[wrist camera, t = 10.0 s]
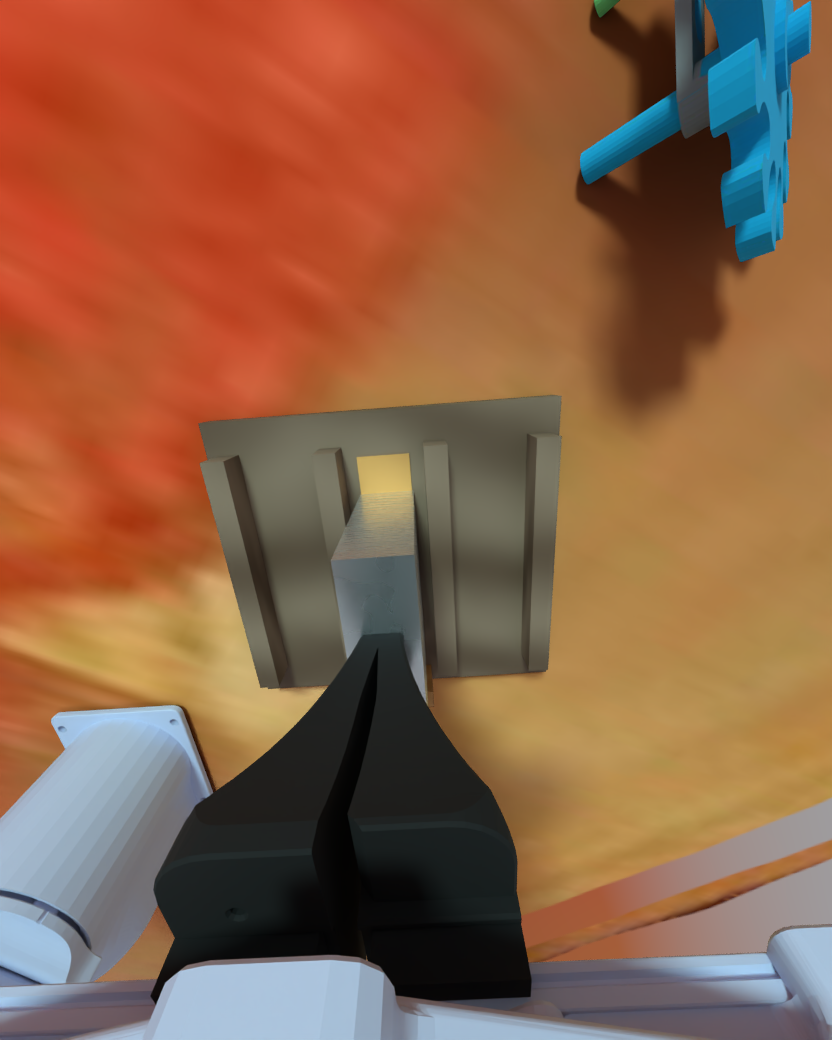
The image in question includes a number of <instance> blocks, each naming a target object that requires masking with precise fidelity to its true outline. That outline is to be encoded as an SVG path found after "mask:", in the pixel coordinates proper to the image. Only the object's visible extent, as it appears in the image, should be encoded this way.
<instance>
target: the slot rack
mask: <svg viewBox="0 0 832 1040" xmlns="http://www.w3.org/2000/svg"><path fill="white" fill-rule="evenodd" d="M560 411H561V396H558V395H547V396H534V397H521V398H508V399H495V400H482V401H469V402H455V403H442V404H429V405H416V406H403V407H390V408H377V409H363V410H350V411H337V412H324V413H311V414H298V415H285V416H272V417H258V418H245V419H232V420H219V421H208V422H203V423H198V424H199V428H200V432H201V436H202V439H203V443H204V447H205V451H206V455H207V458H208V460H207V461H204V462H201V463H200V466H201V470H202V474H203V477H204V481H205V485H206V488H207V492H208V496H209V499H210V503H211V507H212V511H213V514H214V518H215V522H216V525H217V529H218V533H219V536H220V540H221V544H222V547H223V551H224V555H225V558H226V562H227V566H228V569H229V573H230V577H231V581H232V584H233V588H234V592H235V595H236V599H237V603H238V606H239V610H240V614H241V617H242V621H243V625H244V628H245V632H246V636H247V639H248V643H249V647H250V651H251V654H252V658H253V662H254V665H255V669H256V673H257V676H258V680H259V684H260V687H261V688H264V687H268V689H275V688H291V687H307V686H323V685H330V684H331V682H332V681H333V680H334V678H335V677H336V675H337V674H338V672H339V671H340V670H341V668H342V667H343V665H344V664H345V662H346V661H347V655H346V649H345V643H344V637H343V631H342V625H341V619H340V613H339V607H338V601H337V595H336V589H335V583H334V577H333V571H332V565H331V559H332V557H333V554H334V552H335V550H336V548H337V546H338V543H339V541H340V539H341V537H342V534H343V532H344V530H345V528H346V526H347V523H348V521H349V519H350V517H351V514H352V512H353V510H354V508H355V506H356V503H357V501H358V499H359V497H360V495H361V494H373V493H387V492H401V491H414V503H415V516H416V529H417V542H418V555H419V568H420V581H421V594H422V607H423V620H424V633H425V654H426V674H427V695H428V707H434V700H433V684H432V679H434V678H450V677H466V676H482V675H498V674H514V673H530V672H546V670H548V659H549V642H550V625H551V608H552V591H553V574H554V557H555V539H556V522H557V505H558V488H559V471H560V454H561V437H562V436H559V429H560Z"/></svg>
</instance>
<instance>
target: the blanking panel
mask: <svg viewBox="0 0 832 1040" xmlns="http://www.w3.org/2000/svg"><path fill="white" fill-rule="evenodd" d="M331 565H332V571H333V577H334V583H335V589H336V595H337V601H338V607H339V613H340V619H341V625H342V631H343V637H344V643H345V649H346V655H347V659H348V658H349V656H350V655H351V653H352V651H353V650H354V648H355V646H356V645H357V643H358V641H359V639H360V638H361V637H362V636H363V635H367V634H382V633H396V632H400V633H402V634H403V635H404V643H405V652H406V655H407V659H408V662H409V665H410V668H411V671H412V673H413V676H414V678H415V681H416V683H417V685H418V688H419V690H420V692H421V694H422V696H423V698H424V700H425V702H426V704H427V706H428V695H427V674H426V654H425V633H424V620H423V607H422V594H421V581H420V568H419V555H418V542H417V529H416V516H415V503H414V491H401V492H387V493H373V494H361V495H360V497H359V499H358V501H357V503H356V506H355V508H354V510H353V512H352V514H351V517H350V519H349V521H348V523H347V526H346V528H345V530H344V532H343V534H342V537H341V539H340V541H339V543H338V546H337V548H336V550H335V552H334V554H333V557H332V559H331Z"/></svg>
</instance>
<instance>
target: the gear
mask: <svg viewBox="0 0 832 1040" xmlns="http://www.w3.org/2000/svg"><path fill="white" fill-rule="evenodd" d="M619 1H620V0H594V3H595V8H596V11H597V14H598V16H599V17H602V16H603V15H604V14H605V13H606V12H608V11H609V10H610V9H611V8H612V7H613V6H614V5H615V4H616V3H618V2H619ZM705 4H706V6H707V9H708V10H709V12H710V14H711V16H712V19H713V22H714V25H715V29H716V34H717V38H718V44H719V48H717V49H716V50H714V51H713V52H711V53H710V54H708V55H707V56H705V29H704V0H675V37H676V86H677V90H676V91H674V92H673V93H671V94H670V95H668V96H667V97H665V98H664V99H662V100H661V101H659V102H658V103H656V104H655V105H653V106H652V107H650V108H649V109H647V110H646V111H644V112H643V113H641V114H640V115H638V116H637V117H635V118H634V119H632V120H631V121H629V122H628V123H626V124H625V125H623V126H622V127H620V128H619V129H617V130H616V131H614V132H613V133H611V134H610V135H608V136H607V137H605V138H604V139H602V140H601V141H599V142H598V143H596V144H595V145H593V146H592V147H590V148H589V149H587V150H586V151H584V152H583V153H582V154H581V157H580V167H581V172H582V176H583V179H584V181H585V182H586V183H587V184H588V185H589V184H591V183H592V182H594V181H596V180H597V179H599V178H601V177H602V176H604V175H606V174H607V173H609V172H611V171H612V170H614V169H616V168H617V167H619V166H621V165H623V164H624V163H626V162H628V161H629V160H631V159H633V158H634V157H636V156H638V155H639V154H641V153H643V152H644V151H646V150H648V149H649V148H651V147H653V146H654V145H656V144H658V143H659V142H661V141H663V140H664V139H666V138H668V137H669V136H671V135H673V134H674V133H676V132H678V131H679V130H681V131H682V134H683V136H684V137H685V138H686V139H687V138H688V137H690V136H692V135H694V134H695V133H697V132H699V131H700V130H702V129H704V128H706V127H707V126H709V125H710V130H711V133H712V136H713V138H715V137H717V136H719V135H721V134H723V133H725V132H727V134H728V137H729V141H730V148H731V170H729V171H727V172H725V173H723V175H722V181H721V196H722V206H723V213H724V220H725V226H726V228H728V227H731V226H733V225H736V229H735V246H736V251H737V255H738V258H739V260H740V262H743V261H746V260H749V259H752V258H754V257H757V256H760V255H763V254H766V253H769V252H772V251H775V244H776V241H777V240H780V239H782V237H783V203H786V202H787V197H788V189H789V166H788V154H787V140H788V139H790V138H791V129H792V109H793V106H792V92H791V89H790V79H791V64H792V63H793V62H795V61H797V60H798V59H800V58H802V57H803V56H805V55H807V54H809V53H810V46H811V1H809V2H808V3H806V4H805V5H803V6H802V7H800V8H799V9H797V10H796V11H794V12H793V1H791V0H705Z"/></svg>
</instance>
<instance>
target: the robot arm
mask: <svg viewBox="0 0 832 1040" xmlns="http://www.w3.org/2000/svg"><path fill="white" fill-rule="evenodd" d="M51 722H52V725H53V727H54V729H55V730H56V732H57V734H58V736H59V738H60V740H61V742H62V744H63V745H64V747H65V750H64V752H63V753H62V754H61V755H60V756H59V757H58V758H57V759H56V760H55V761H54V762H53V763H52V764H51V765H50V766H49V767H48V769H47V770H46V771H45V772H44V773H43V774H42V775H41V776H40V777H39V778H38V779H37V780H36V781H35V782H34V783H33V784H32V786H31V787H30V788H29V789H28V790H27V791H26V792H25V793H24V794H23V795H22V796H21V797H20V798H19V799H18V800H17V801H16V803H15V804H14V805H13V806H12V807H11V808H10V809H9V810H8V811H7V812H6V813H5V814H4V815H3V816H2V817H1V819H0V1040H832V924H822V925H800V926H790V927H784V928H782V929H779V930H777V931H775V932H774V933H773V934H772V935H771V937H770V939H769V941H768V946H767V952H759V953H737V954H715V955H691V956H671V957H670V956H669V957H646V958H623V959H601V960H578V961H556V962H533V963H528V957H527V952H526V947H525V942H524V937H523V932H522V927H521V912H520V907H519V902H518V897H517V892H516V890H517V855H516V850H515V846H514V843H513V840H512V837H511V834H510V831H509V829H508V826H507V824H506V821H505V819H504V817H503V815H502V812H501V810H500V808H499V806H498V804H497V802H496V800H495V798H494V796H493V794H492V792H491V790H490V789H489V787H488V786H487V785H486V784H485V783H484V782H483V781H482V780H481V779H480V778H479V777H478V776H477V774H476V773H475V772H474V771H473V770H472V769H471V768H470V766H469V765H468V764H467V763H466V762H465V760H464V759H463V758H462V757H461V755H460V754H459V753H458V752H457V750H456V749H455V747H454V746H453V745H452V743H451V742H450V740H449V739H448V738H447V736H446V735H445V733H444V732H443V731H442V729H441V727H440V726H439V724H438V723H437V721H436V719H435V718H434V716H433V714H432V713H431V711H430V709H429V707H428V706H427V704H426V702H425V700H424V698H423V696H422V694H421V692H420V690H419V688H418V685H417V683H416V681H415V678H414V676H413V673H412V671H411V668H410V665H409V662H408V659H407V655H406V652H405V643H404V635H403V634H402V633H400V632H396V633H382V634H367V635H363V636H362V637H361V638H360V639H359V641H358V643H357V645H356V646H355V648H354V650H353V651H352V653H351V655H350V656H349V658H348V659H347V661H346V662H345V664H344V665H343V667H342V668H341V670H340V671H339V672H338V674H337V675H336V677H335V678H334V680H333V681H332V682H331V684H330V685H329V686H328V687H327V689H326V690H325V691H324V693H323V694H322V695H321V696H320V698H319V699H318V700H317V701H316V703H315V704H314V705H313V706H312V707H311V708H310V710H309V711H308V712H307V713H306V714H305V715H304V716H303V717H302V718H301V719H300V721H299V722H298V723H297V724H296V725H295V726H294V727H293V728H292V729H291V730H290V731H289V732H288V733H287V734H286V735H285V736H284V737H283V738H282V739H280V740H279V741H278V742H277V743H276V744H275V745H274V746H273V747H272V748H271V749H270V750H269V751H267V752H266V753H265V754H264V755H263V756H261V757H260V758H259V759H258V760H257V761H255V762H254V763H253V764H252V765H250V766H249V767H248V768H247V769H245V770H244V771H243V772H242V773H240V774H239V775H238V776H236V777H235V778H234V779H232V780H231V781H230V782H228V783H227V784H225V785H224V786H222V787H221V788H220V789H218V790H217V791H215V792H214V793H213V791H212V788H211V785H210V783H209V780H208V777H207V774H206V772H205V769H204V766H203V764H202V761H201V758H200V756H199V753H198V750H197V747H196V745H195V742H194V739H193V737H192V734H191V731H190V729H189V726H188V723H187V721H186V718H185V715H184V712H183V710H182V709H181V708H180V707H179V706H175V705H170V706H154V707H138V708H122V709H106V710H90V711H74V712H60V713H57V714H56V715H55V716H54V717H53V718H52V720H51ZM157 905H158V906H159V908H160V910H161V912H162V914H163V916H164V918H165V920H166V922H167V924H168V926H169V927H170V929H171V931H172V933H173V935H174V937H175V939H174V941H173V944H172V946H171V948H170V951H169V953H168V955H167V958H166V960H165V962H164V965H163V967H162V970H161V972H160V974H159V977H158V979H150V980H128V981H105V982H93V981H95V980H97V979H98V978H100V977H101V976H102V975H104V974H105V973H106V972H108V971H109V970H110V969H111V968H112V967H113V966H114V965H115V964H116V963H117V962H118V961H119V960H120V959H121V958H122V957H123V956H124V955H125V954H126V953H127V952H128V951H129V949H130V948H131V947H132V946H133V945H134V943H135V942H136V941H137V939H138V938H139V937H140V935H141V934H142V932H143V931H144V929H145V928H146V926H147V925H148V923H149V921H150V919H151V917H152V915H153V913H154V911H155V909H156V907H157ZM366 955H367V960H368V961H366Z"/></svg>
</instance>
